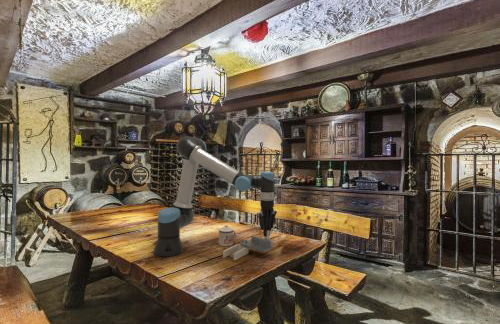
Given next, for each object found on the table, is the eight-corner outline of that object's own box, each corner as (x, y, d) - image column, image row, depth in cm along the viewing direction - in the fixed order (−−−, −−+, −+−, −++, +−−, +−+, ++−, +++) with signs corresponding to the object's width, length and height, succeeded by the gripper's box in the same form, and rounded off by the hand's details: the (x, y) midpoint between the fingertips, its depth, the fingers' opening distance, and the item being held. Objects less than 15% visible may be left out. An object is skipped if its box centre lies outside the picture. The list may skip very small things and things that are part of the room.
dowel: (231, 260, 143) (235, 258, 142) (228, 254, 144) (233, 252, 143) (240, 255, 151) (244, 253, 150) (237, 250, 152) (241, 247, 150)
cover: (263, 252, 143) (263, 244, 143) (237, 244, 154) (238, 237, 154) (272, 248, 149) (273, 240, 149) (247, 241, 161) (248, 234, 161)
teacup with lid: (224, 247, 161) (225, 227, 161) (215, 244, 167) (215, 225, 167) (239, 243, 170) (240, 224, 169) (230, 240, 176) (230, 222, 176)
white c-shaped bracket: (223, 257, 145) (223, 250, 145) (240, 248, 160) (240, 242, 160) (235, 260, 141) (235, 253, 141) (251, 251, 156) (251, 244, 156)
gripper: (262, 201, 146) (262, 245, 146) (280, 199, 154) (279, 241, 154) (253, 199, 152) (253, 242, 152) (271, 197, 160) (271, 238, 160)
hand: (266, 241), depth 153 cm, fingers closed
